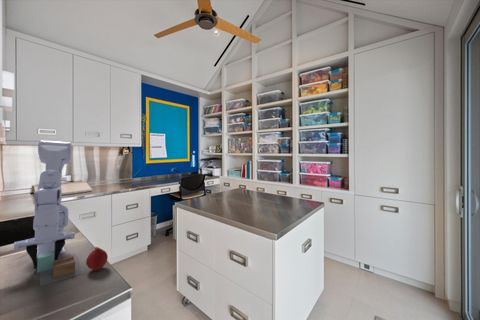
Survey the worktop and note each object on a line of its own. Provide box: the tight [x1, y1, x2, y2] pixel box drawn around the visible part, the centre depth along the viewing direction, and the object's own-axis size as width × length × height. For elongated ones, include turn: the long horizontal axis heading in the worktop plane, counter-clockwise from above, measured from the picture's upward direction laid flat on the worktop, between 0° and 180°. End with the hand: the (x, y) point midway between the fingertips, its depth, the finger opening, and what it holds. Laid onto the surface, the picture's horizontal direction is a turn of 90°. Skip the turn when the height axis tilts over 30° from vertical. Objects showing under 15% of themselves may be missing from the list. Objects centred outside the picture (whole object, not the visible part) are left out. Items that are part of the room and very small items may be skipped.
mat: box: [38, 261, 85, 287], centre depth 66 cm, size 10×10×1 cm
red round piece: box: [85, 246, 109, 272], centre depth 68 cm, size 6×6×8 cm
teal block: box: [36, 251, 55, 274], centre depth 68 cm, size 4×4×5 cm
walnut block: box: [53, 255, 76, 278], centre depth 66 cm, size 5×5×4 cm
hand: (45, 265), depth 68 cm, fingers closed on teal block, 4 cm apart
